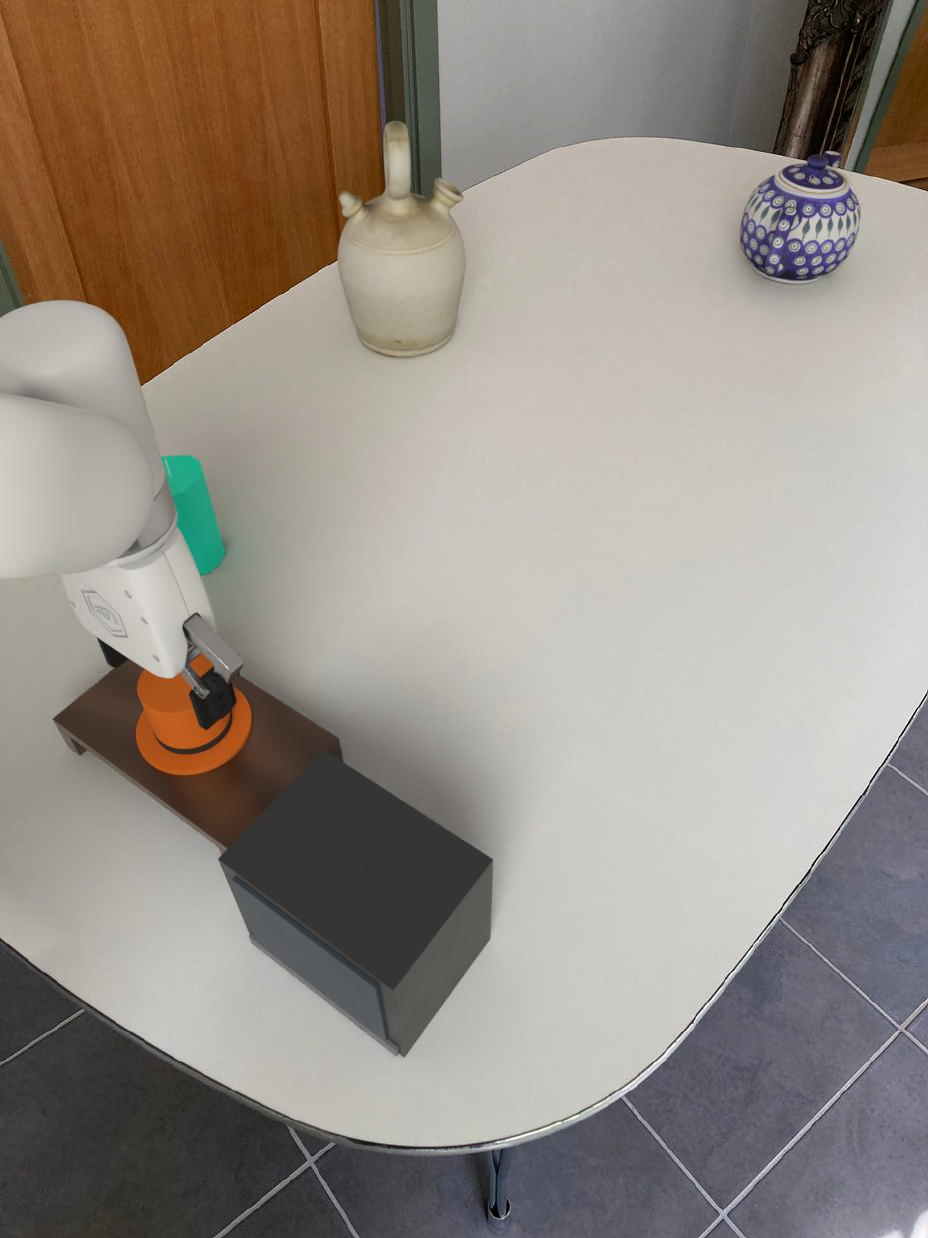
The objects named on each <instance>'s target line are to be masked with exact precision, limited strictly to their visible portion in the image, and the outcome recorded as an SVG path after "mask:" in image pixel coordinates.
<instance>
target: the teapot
mask: <svg viewBox="0 0 928 1238" xmlns="http://www.w3.org/2000/svg"><path fill="white" fill-rule="evenodd" d="M822 153H823V154H822V155H821V154H811V155H810V156H808V157H807V159H806V162H793V163H789V164H785V165H782V166H780V167H779V168H777V169H776V171H775V173H774V174H773V175H771V176H770V177H768V178H766V179H764V180H763V181H762V182H760V183H759V184H758V186H756V187H755V188H754V190H753V191H752V192H751V194H750V196H749V198H748V199H747V202H746V204H745V206H744V210H743V214H742V217H741V221H740V228H739V229H740V231H739V243H740V248H741V251H742V254H744V256H745V257H746V259H747V260H748V261H749V262H750V266H751V268H752V269H753V271H754V272H755V273H757V274H758V275H759V276H761V277H763V278H765V279H767V280H771V281H774V282H777V283H782V284H788V285H789V284H790V285H807V284H811V283H815V282H817V281H818V280H820V279H821V278H823V277H824V276H825V275H828V274H830V273H831V272H833V271H835V270H836V269H838V268H839V267H841V265H842V264H843V263H844V261H846V260H847V258H848V257H849V255H850V253H851V251H852V249H853V248H854V245H855V243H856V240H857V238H858V235H859V231H860V224H861V216H862V213H861V205H860V202H859V199H858V197H857V195H856V194H855V192H854V191H853V190H852V188H851V187H850V186H851V181H850V179H849V177H848V175H846V173H844V172H843V171H841V170H839V169H838V168H839V165H840V162H841V160H842V157H843V155H842V154H841V153H840V152H837V151H834V150H833V151H832V150H826V151H823V152H822Z"/></svg>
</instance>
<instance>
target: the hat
mask: <svg viewBox="0 0 928 1238" xmlns="http://www.w3.org/2000/svg"><path fill="white" fill-rule="evenodd" d="M189 664H190V665H191V666H192V667H193V669H194V670H195V671H196V672H197V674H198V675H199V676H200V677H201V676H202V675H204V674H205V673H206V672H207V671H208V670H209V669H211V668H212V667H213V664H212V663H211V662H210V661H209V660H208V659H207V658H206V657H205V656H204V655H203V654H202V653H201V654H200V655H199V656H198V657H197V658H195V659H194V660H193V661H192V662H191V663H189ZM233 689H234V692H235V696H236V699H237V702H236V704H235V706H234V707H233V708H232V710H231V711H230V713H229V714H227V715H226V716H225V717H224V718H223V719H219V720H218V721H217V722H216V723H215V724H214V725H213V726H212V727H211V728H209V729H208V730H204V729H203V728H202V727H200V726H199V723H198V720H197V717H196V714H195V711H194V709H193V706H192V703H191V700H190V697H189V692H190V691H191V690H192V688H191V687H190V685H189V684H188V683H187V682H186V680H185V679H184V678H183V676H182V675H181V674H180V673H179V674H178V675H176V676H175V677H174V678H162V677H159V676H156V675H154V674H153V673H151V672H149V671H148V670H146V669H144V670H143V672H142V673H141V675H140V677H139V680H138V684H137V692H138V696H139V699H140V701H141V703H142V706H143V708H144V711H143V712H142V714H141V716H140V718H139V721H138V724H137V728H136V740H137V745H138V747H139V750H140V752H141V754H142V756H143V757H144V758H145V760H146V761H147V762H148V763H149V764H151V765H152V766H153V767H155V768H157V769H158V770H161V771H163V772H166V773H170V774H175V775H194V774H199V773H204V772H207V771H210V770H212V769H215V768H217V767H219V766H221V765H223V764H224V763H226V762H227V761H229V760H230V759H231V758H232V757H233V756H235V755H236V754H237V753H238V752H239V751H240V749H241V748H242V747H243V745H244V744H245V742H246V741H247V739H248V737H249V734H250V731H251V727H252V712H251V708H250V705H249V703H248V701H247V699H246V697H245V696H244V695H243V694H242V693H241V692H240V691H239V690H238V689H237V688H235V687H234V686H233Z"/></svg>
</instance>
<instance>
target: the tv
mask: <svg viewBox="0 0 928 1238" xmlns="http://www.w3.org/2000/svg"><path fill="white" fill-rule="evenodd" d="M217 861H218V863H219V865H220V868H221V869H222V872H223V874H224V877H225V879H226V881H227V884H228V887H229V889H230V891H231V893H232V896H233V898H234V901H235V903H236V905H237V908H238V910H239V913H240V915H241V917H242V919H243V922H244V924H245V927H246V930H247V931H248V934H249V935H248V938H249V940H250V943H251V944H252V945H253V946H255V947H256V948H257V949H258V950H259V951H261V952H262V953H263V954H264V955H266V956H267V957H269V958H270V959H271V961H272V960H273V962H275V963H276V964H278V965H279V966H280V967H281V968H283V970H285V971H286V972H288V973H289V974H290V975H291V976H292V977H294V978H296V979H297V980H298V981H299V982H300V983H302V984H303V985H304V986H306V988H308V989H310V990H311V992H313V993H314V994H316V995H317V996H318V997H319V998H321V999H322V1000H323V1001H325V1002H326V1003H327V1004H329V1005H330V1006H331V1007H332V1008H334V1009H335V1010H336V1011H337V1012H339V1013H340V1014H341V1015H343V1017H345V1018H346V1019H348V1020H349V1021H350V1022H351V1023H353V1024H354V1025H355V1026H357V1027H358V1028H359V1029H361V1030H362V1032H364V1033H365V1034H367V1035H368V1036H369V1037H371V1038H372V1039H373V1040H374V1041H375V1042H376V1043H378V1044H379V1045H381V1046H382V1047H383V1048H385V1049H386V1050H387V1051H388V1052H390V1053H391V1054H392V1055H393V1056H395V1057H398V1056H400V1057H402V1058H406V1056H407V1055H408V1054H409V1052H411V1049H412V1048H413V1047H414V1045H415V1044H416V1043H417V1041H418V1040H419V1038H420V1037H421V1035H422V1034H423V1033H424V1031H425V1030H426V1029H427V1027H428V1026H429V1024H430V1023H431V1022H432V1020H433V1019H434V1018H435V1016H436V1015H437V1014H438V1012H439V1011H440V1009H442V1007H443V1005H444V1004H445V1002H446V1001H447V1000H448V999H449V997H450V995H452V993H453V992H454V990H455V989H456V987H457V986H458V984H459V983H460V982H461V980H462V979H463V978H464V976H465V975H466V973H467V972H468V970H469V969H470V968H471V967H472V965H473V964H474V962H475V961H476V960H477V958H478V957H479V956H480V955H481V953H482V951H483V950H484V948H485V947H486V946H487V944H488V943H489V942H490V940H491V937H492V936H491V935H492V933H491V931H492V907H493V906H492V904H493V903H492V902H493V879H494V877H493V876H494V858H492V857H490V856H489V855H488V854H486V853H484V852H483V851H481V850H480V849H478V848H476V847H475V846H473V845H472V844H470V843H469V842H467V841H466V840H464V839H462V838H461V837H459V836H458V835H456V834H455V833H454V832H452V831H450V830H448V829H447V828H445V827H444V826H442V825H441V824H439V823H438V822H436V821H435V820H433V819H432V818H430V817H429V816H427V815H426V814H424V813H423V812H421V811H419V810H418V809H416V808H415V807H413V806H412V805H410V804H408V803H407V802H405V801H404V800H402V799H401V798H400V797H398V796H396V795H394V793H391V792H390V791H388V790H387V789H386V788H384V787H382V786H381V785H379V783H376V782H374V781H373V780H371V779H370V778H369V777H368V776H366V775H364V774H362V773H361V772H359V771H358V770H356V769H355V768H353V767H351V766H350V765H348V764H347V763H346V762H342V761H341V760H339V759H338V758H336V757H334V756H333V755H331V754H330V753H328V752H327V751H325V750H323V751H322V752H321V753H320V754H319V755H318V756H317V757H316V759H315V760H314V761H313V762H312V763H311V764H310V765H309V766H308V767H307V768H306V769H305V770H304V771H303V772H302V773H301V774H300V775H299V776H298V777H297V778H296V779H295V780H294V781H293V782H292V783H291V784H290V785H289V786H288V787H287V788H286V789H285V790H284V791H283V792H282V794H281V795H280V796H279V797H278V798H277V799H276V800H275V801H274V802H273V803H272V804H271V805H270V806H269V807H268V808H267V809H266V810H265V811H264V812H263V813H262V814H261V815H260V816H259V817H258V818H257V819H256V820H255V821H254V822H253V823H252V824H251V825H250V826H249V827H248V829H247V830H246V831H245V832H244V833H243V834H242V835H241V836H240V837H239V838H238V839H237V840H236V841H235V842H234V843H233V844H232V845H231V846H230V847H229V848H228V849H227V850H226V851H225V852H224V853H223V854H222V855H221V854H220V856H219V857H218V858H217Z"/></svg>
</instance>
